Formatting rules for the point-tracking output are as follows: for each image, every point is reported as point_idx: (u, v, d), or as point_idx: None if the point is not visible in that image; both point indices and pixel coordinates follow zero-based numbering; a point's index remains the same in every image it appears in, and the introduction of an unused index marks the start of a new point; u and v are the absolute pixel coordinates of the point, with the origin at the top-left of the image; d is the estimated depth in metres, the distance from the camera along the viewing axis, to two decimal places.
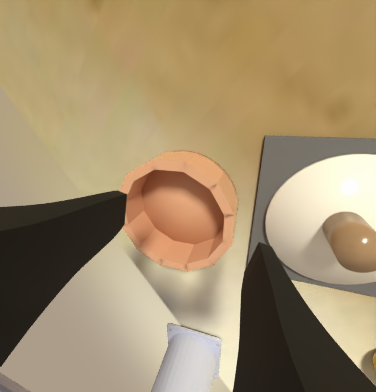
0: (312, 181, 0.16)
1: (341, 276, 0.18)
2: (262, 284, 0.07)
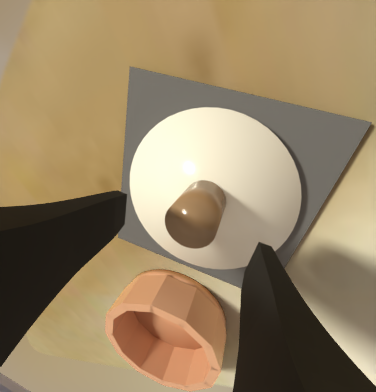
0: (151, 218, 0.16)
1: (282, 211, 0.13)
2: (262, 284, 0.07)
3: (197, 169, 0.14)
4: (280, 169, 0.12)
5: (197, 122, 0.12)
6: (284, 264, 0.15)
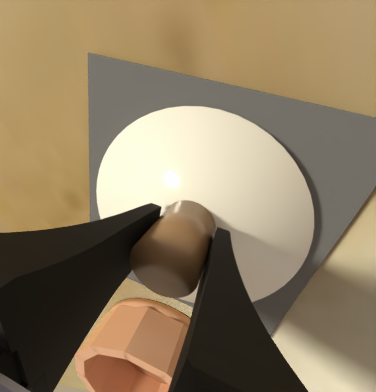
0: None
1: (287, 242, 0.10)
2: (208, 263, 0.08)
3: (178, 186, 0.10)
4: (286, 189, 0.09)
5: (175, 126, 0.09)
6: (290, 303, 0.12)
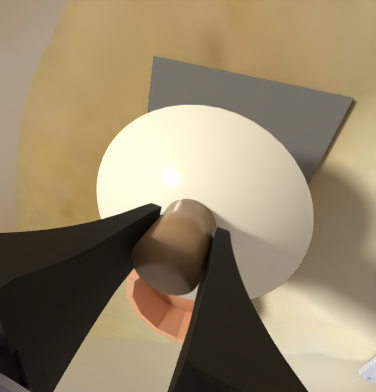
0: None
1: (287, 239, 0.10)
2: (208, 263, 0.08)
3: (178, 184, 0.10)
4: (286, 187, 0.09)
5: (175, 125, 0.09)
6: None
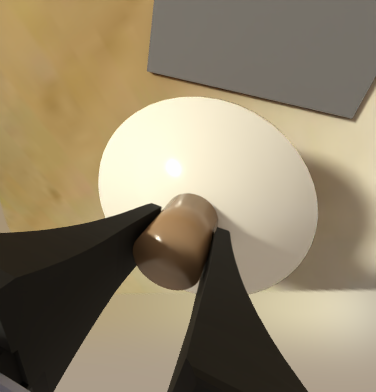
0: None
1: (291, 233, 0.10)
2: (208, 263, 0.08)
3: (179, 179, 0.10)
4: (289, 180, 0.09)
5: (174, 118, 0.09)
6: None
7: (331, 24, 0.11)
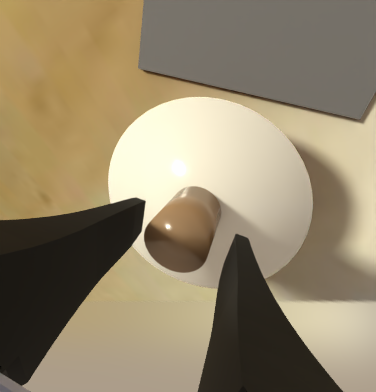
0: None
1: (289, 222, 0.11)
2: (232, 272, 0.07)
3: (186, 173, 0.11)
4: (286, 172, 0.10)
5: (183, 116, 0.10)
6: None
7: (337, 16, 0.10)
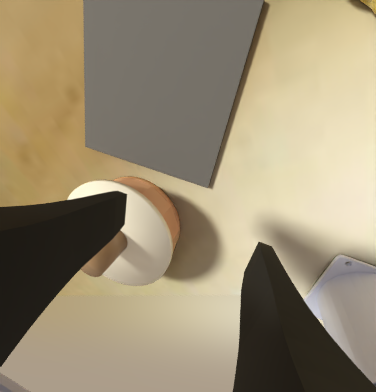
0: None
1: (160, 248, 0.19)
2: (262, 284, 0.07)
3: None
4: (153, 222, 0.18)
5: (99, 190, 0.18)
6: (217, 149, 0.18)
7: (185, 135, 0.18)
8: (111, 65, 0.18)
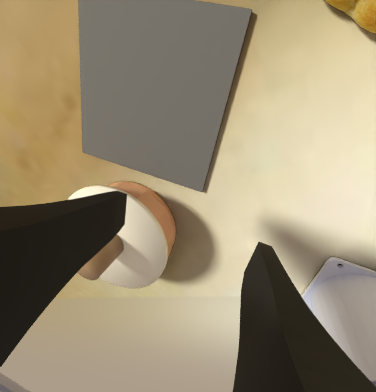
0: None
1: (156, 252, 0.19)
2: (262, 284, 0.07)
3: None
4: (148, 226, 0.18)
5: None
6: (210, 154, 0.18)
7: (178, 141, 0.19)
8: (106, 74, 0.18)
